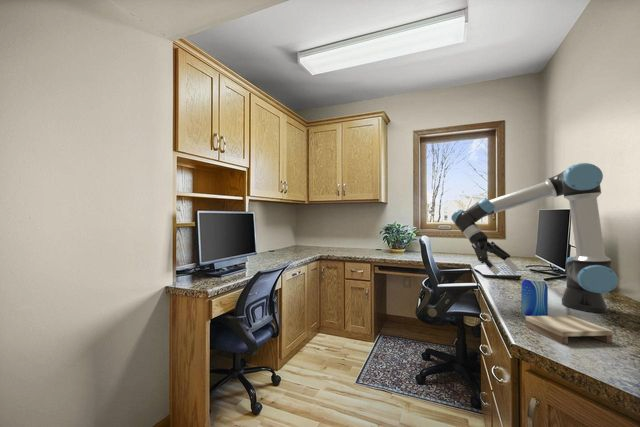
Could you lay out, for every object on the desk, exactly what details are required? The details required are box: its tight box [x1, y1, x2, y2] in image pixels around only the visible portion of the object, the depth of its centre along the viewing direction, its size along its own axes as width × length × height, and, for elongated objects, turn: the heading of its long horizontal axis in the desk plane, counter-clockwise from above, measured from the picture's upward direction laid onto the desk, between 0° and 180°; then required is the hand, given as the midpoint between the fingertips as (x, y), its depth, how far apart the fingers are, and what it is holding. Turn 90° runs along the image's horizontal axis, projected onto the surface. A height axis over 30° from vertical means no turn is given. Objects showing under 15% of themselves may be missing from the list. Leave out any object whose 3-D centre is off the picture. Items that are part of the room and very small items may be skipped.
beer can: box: [520, 277, 549, 319], centre depth 110 cm, size 8×8×16 cm
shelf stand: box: [525, 314, 613, 345], centre depth 95 cm, size 18×14×4 cm
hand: (507, 272), depth 120 cm, fingers open, 13 cm apart
